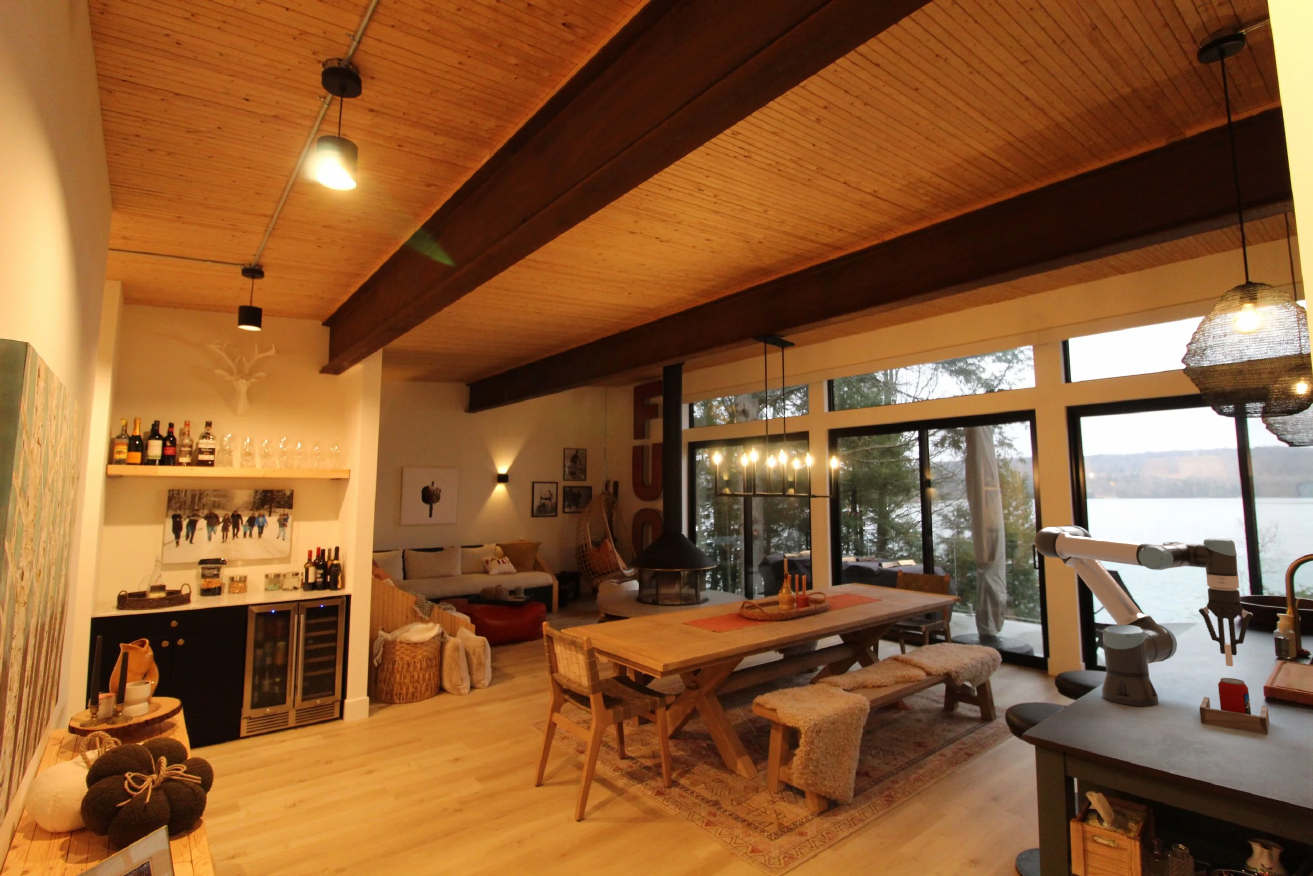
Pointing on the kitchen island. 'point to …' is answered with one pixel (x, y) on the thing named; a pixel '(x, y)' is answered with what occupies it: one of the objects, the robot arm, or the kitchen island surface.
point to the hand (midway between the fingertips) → (1229, 665)
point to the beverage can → (1234, 696)
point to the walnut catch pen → (1234, 718)
